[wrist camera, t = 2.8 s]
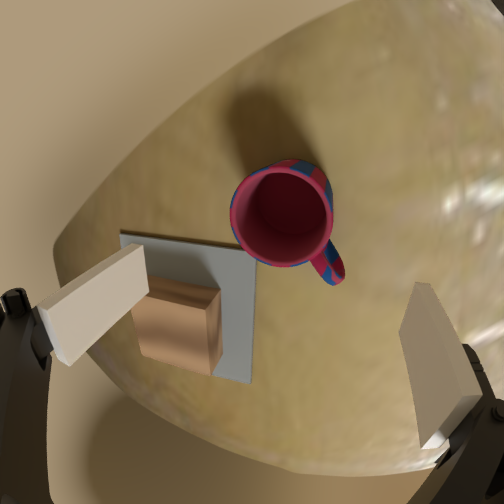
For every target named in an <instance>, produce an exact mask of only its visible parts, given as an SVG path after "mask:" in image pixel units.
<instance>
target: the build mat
mask: <svg viewBox="0 0 504 504" xmlns="http://www.w3.org/2000/svg"><path fill="white" fill-rule="evenodd" d="M119 235H120V243H121V249H123V248H125V247H126V246H128V245H130V244H131V243H133V244H140V245H143V249H144V257H145V265H146V273H147V275H151V276H156V277H161V278H166V279H171V280H176V281H181V282H186V283H191V284H196V285H202V286H207V287H212V288H218V289H221V311H222V341H223V355H222V356H221V358H220V360H219V362H218V364H217V366H216V368H215V369H214V371H213V373H212V375H214V376H218V377H222V378H226V379H230V380H234V381H238V382H243V383H247V384H251V377H252V356H253V334H254V312H255V289H256V265H257V260H256V259H255V258H253V257H252V256H251V255H249V254H248V253H247V252H246V251H245V250H244V249H237V248H229V247H222V246H215V245H207V244H200V243H192V242H185V241H177V240H170V239H162V238H155V237H147V236H140V235H132V234H125V233H121V234H119Z"/></svg>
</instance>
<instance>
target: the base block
mask: <svg viewBox="0 0 504 504" xmlns="http://www.w3.org/2000/svg"><path fill="white" fill-rule="evenodd" d="M147 280H148V287H149V293H147V294H146V295H145V296H144V297H143V298H142V299H141V300H140V301H139V302H137V303H136V304H135V305H134V306H133V307H132V308H131V312H132V316H133V321H134V325H135V329H136V333H137V337H138V341H139V345H140V349H141V353H142V355H144V356H147V357H149V358H152V359H155V360H158V361H161V362H164V363H167V364H170V365H173V366H177V367H180V368H183V369H186V370H190V371H193V372H197V373H200V374H204V375H207V376H211V375H212V373H213V371H214V369H215V368H216V366H217V364H218V362H219V360H220V358H221V356H222V355H223V341H222V311H221V289H218V288H212V287H207V286H202V285H196V284H191V283H186V282H181V281H176V280H171V279H166V278H161V277H156V276H151V275H147Z"/></svg>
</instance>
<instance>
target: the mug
mask: <svg viewBox="0 0 504 504" xmlns="http://www.w3.org/2000/svg"><path fill="white" fill-rule="evenodd" d="M230 223H231V227H232V230H233V233H234V235H235V237H236V239H237V241H238V243H239V244H240V245H241V247H242V248H243V249H244V250H245V251H246V252H247V253H248V254H249V255H251V256H252V257H253V258H255V259H256V260H258V261H260V262H262V263H264V264H267V265H270V266H276V267H293V266H298V265H301V264H303V263H306V262H308V261H309V260H310V262H311V263H312V265H313V266H314V268H315V269H316V271H317V272H318V273H319V275H320V276H321V277H322V278H323V279H324V281H326V282H327V283H328V284H330V285H332V286H335V285H337V284H339V283H341V282H342V281H343V280H344V279H345V269H344V265H343V262H342V260H341V258H340V256H339V254H338V252H337V250H336V249H335V247H334V245H333V244H332V242H331V240H330V239H329V238H330V235H331V232H332V227H333V193H332V189H331V186H330V183H329V181H328V179H327V178H326V176H325V175H324V174H323V173H322V172H321V170H320V169H318V168H317V167H316V166H314V165H312V164H310V163H308V162H306V161H302V160H297V159H288V160H283V161H279V162H277V163H274V164H272V165H269V166H267V167H264V168H262V169H260V170H258V171H256V172H254V173H252V174H250V175H249V176H248V177H246V178H245V179H244V180H243V181H242V182H241V184H240V185H239V186H238V188H237V189H236V191H235V193H234V195H233V198H232V201H231V205H230Z"/></svg>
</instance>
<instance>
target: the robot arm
mask: <svg viewBox="0 0 504 504" xmlns="http://www.w3.org/2000/svg"><path fill="white" fill-rule="evenodd" d="M492 1H493V2H494V3H495V5H496V6H497V7H498V9H499V10H500V11H501V12H502V13H503V15H504V0H492ZM147 293H149V287H148V280H147V273H146V265H145V257H144V249H143V245H140V244H133V243H131V244H130V245H128V246H126V247H125V248H123V249H121V250H120V251H118V252H116V253H115V254H113V255H112V256H110V257H108V258H107V259H105V260H104V261H102V262H100V263H99V264H97V265H96V266H94V267H92V268H91V269H89V270H88V271H86V272H85V273H83V274H82V275H80V276H78V277H77V278H75V279H74V280H72V281H71V282H69V283H68V284H66V285H65V286H63V287H62V288H60V289H59V290H58V291H56V292H55V293H53V294H52V295H50V296H49V297H47V298H46V299H44V300H43V301H42V302H40V303H39V304H37V306H35V307H34V308H32V309H31V306H30V303H29V300H28V297H27V294H26V291H25V290H24V289H23V288H14V289H11V290H9V291H7V292H5V293H4V294H3V295H2V296H1V297H0V298H1V301H2V304H3V306H4V309H5V312H4V311H3V308H2V306H1V304H0V504H54V503H53V501H52V499H51V497H50V493H49V482H48V470H47V448H46V447H47V446H46V445H47V442H46V432H47V404H48V391H49V381H50V372H51V364H52V357H51V355H50V352H51V351H52V350H54V351H55V353H56V355H57V358H58V360H59V361H61V362H63V363H65V364H66V365H68V366H71V365H72V364H73V363H74V362H75V361H76V360H77V359H78V358H79V357H80V356H81V355H82V354H83V353H84V352H85V351H86V350H87V349H88V348H89V347H90V346H92V345H93V344H94V343H95V342H96V341H97V340H98V339H99V338H100V337H101V336H102V335H103V334H104V333H105V332H106V331H107V330H108V329H109V328H110V327H112V326H113V325H114V324H115V323H116V322H117V321H118V320H119V319H120V318H121V317H122V316H123V315H124V314H126V313H127V312H128V311H129V310H130V309H131V308H132V307H133V306H134V305H135V304H136V303H137V302H139V301H140V300H141V299H142V298H143V297H144V296H145V295H146V294H147ZM399 336H400V340H401V344H402V348H403V352H404V356H405V360H406V365H407V369H408V374H409V379H410V384H411V389H412V394H413V400H414V405H415V411H416V418H417V424H418V432H419V439H420V448H421V449H429V448H440V446H441V445H442V444H443V443H444V442H445V441H446V440H447V439H448V438H449V444H450V447H449V448H448V449H447V450H446V451H445V452H444V453H443V454H442V455H441V456H440V457H439V458H438V459H437V460H436V461H435V462H434V463H436V464H437V465H436V466H435V468H434V469H433V471H432V472H431V473H430V475H429V476H428V478H427V479H426V480H425V482H424V483H423V484H422V486H421V487H420V488H419V490H418V491H417V492H416V493H415V494H414V496H413V497H412V498H411V499H410V501H409V502H408V503H407V504H504V400H501V399H496V398H495V395H494V393H493V390H492V388H491V385H490V383H489V381H488V378H487V376H486V374H485V372H483V371H484V369H483V367H482V365H481V364H480V361H479V358H478V356H477V354H476V352H475V351H474V350H473V349H472V348H471V347H470V346H469V345H468V344H461V342H460V340H459V338H458V336H457V334H456V332H455V330H454V328H453V326H452V324H451V322H450V320H449V318H448V316H447V314H446V312H445V310H444V308H443V307H442V305H441V303H440V301H439V299H438V297H437V296H436V294H435V292H434V290H433V289H432V287H431V285H430V284H428V283H420V282H415V284H414V287H413V291H412V294H411V297H410V300H409V303H408V306H407V309H406V312H405V315H404V318H403V321H402V324H401V327H400V330H399Z"/></svg>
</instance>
